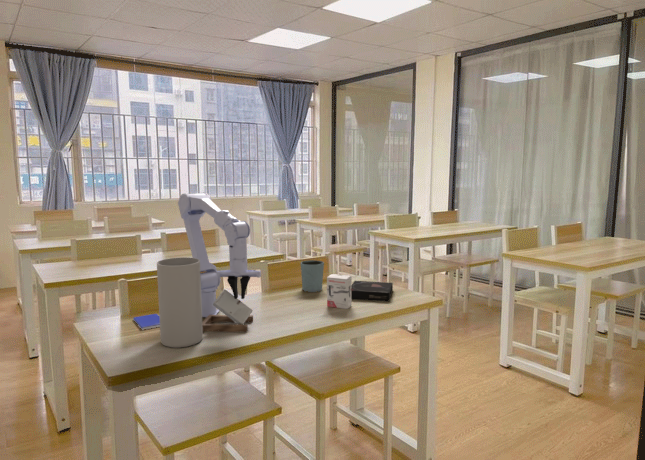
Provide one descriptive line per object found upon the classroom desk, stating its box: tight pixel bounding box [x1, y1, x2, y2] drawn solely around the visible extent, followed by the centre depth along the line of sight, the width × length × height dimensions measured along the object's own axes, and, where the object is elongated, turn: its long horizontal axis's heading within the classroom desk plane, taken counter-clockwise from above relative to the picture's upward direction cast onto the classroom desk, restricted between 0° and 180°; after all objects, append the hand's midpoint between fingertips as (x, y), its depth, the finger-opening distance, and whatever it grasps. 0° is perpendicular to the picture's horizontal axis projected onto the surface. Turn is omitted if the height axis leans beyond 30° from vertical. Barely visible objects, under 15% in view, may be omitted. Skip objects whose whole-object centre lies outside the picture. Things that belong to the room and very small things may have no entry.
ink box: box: [326, 273, 352, 310], centre depth 182 cm, size 9×5×12 cm, turn 68°
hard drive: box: [132, 313, 160, 331], centre depth 165 cm, size 2×8×12 cm
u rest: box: [202, 314, 254, 333], centre depth 161 cm, size 15×11×2 cm
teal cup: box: [300, 259, 325, 293], centre depth 207 cm, size 10×10×12 cm
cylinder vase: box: [156, 256, 204, 349], centre depth 146 cm, size 12×12×25 cm
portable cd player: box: [351, 280, 394, 303], centre depth 199 cm, size 16×17×4 cm
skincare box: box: [213, 288, 253, 325], centre depth 160 cm, size 6×4×12 cm
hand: (239, 298), depth 160 cm, fingers closed
